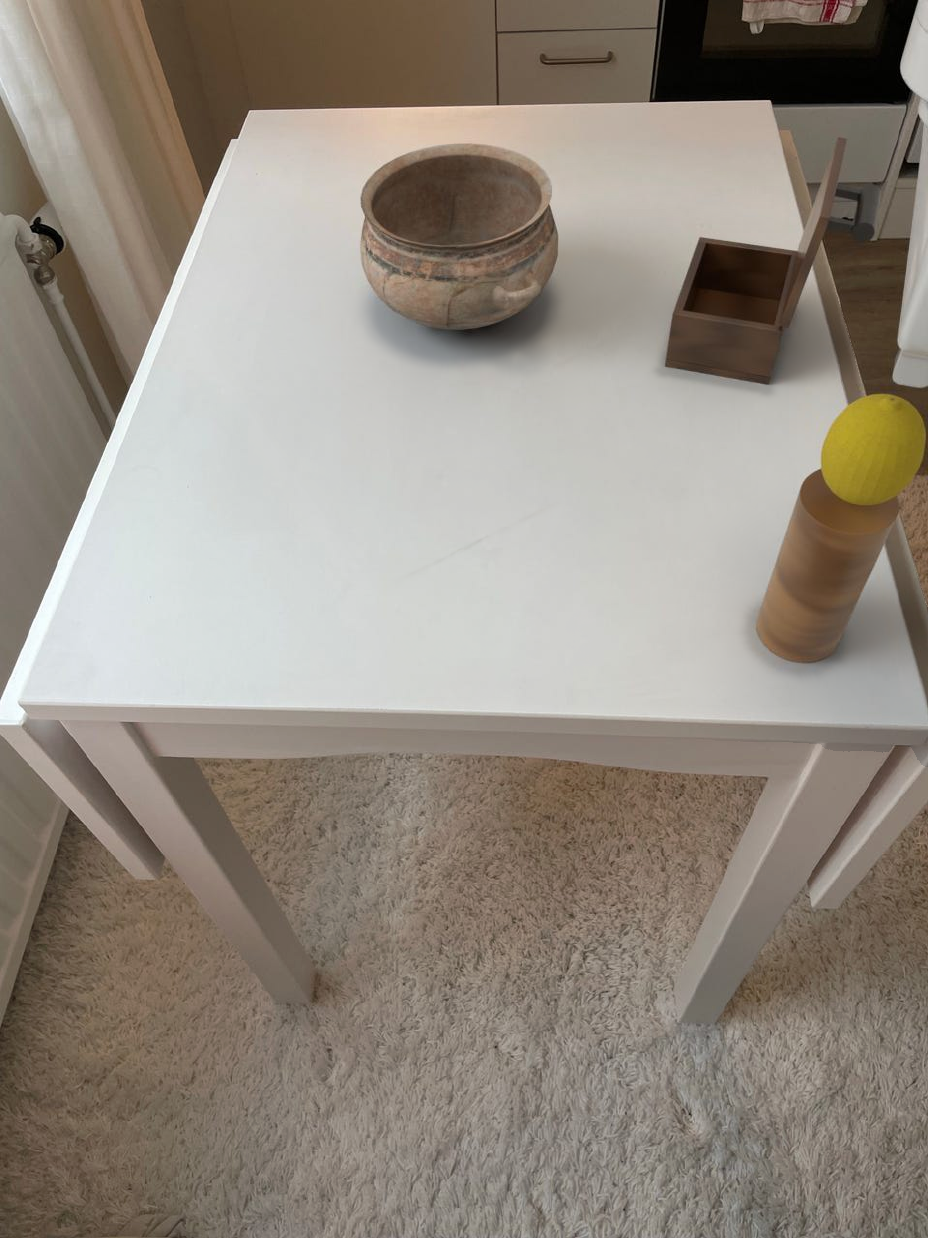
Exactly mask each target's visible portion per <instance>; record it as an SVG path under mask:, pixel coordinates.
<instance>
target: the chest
mask: <svg viewBox="0 0 928 1238" xmlns="http://www.w3.org/2000/svg"><path fill="white" fill-rule="evenodd" d="M797 251H798V250H793V249H786V248H779V247H773V246H772V247H771V246H767V245H766V246H765V245H760V244H759V245H758V244H751V243H745V242H738V241H730V240H723V239H716V238H709V237H702V236H700V237H698V240H697V243H696V246H695V248H694V251H693V252H694V253H693V254H692V258H691V260H690V263H689V266H688V268H687V271H686V275H685V278H684V280H683V284H682V286H681V289H680V291H679V294H678V298H677V300H676V303H675V306H674V309H673V311H672V315H671V323H670V329H669V336H668V341H667V348H666V356H665V362H664V367H668V368H672V369H679V370H685V371H690V372H697V373H701V374H708V375H712V376H719V377H724V378H731V379H735V380H742V381H747V382H753V383H759V384H764V385H769V384H770V380H771V376H772V373H773V369H774V365H775V363H776V357H777V353H778V350H779V346H780V343H781V338H782V335H783V330H784V327H782V326H779V324H780V320H781V316H782V312H783V308H784V304H785V300H786V296H787V292H788V288H789V283H790V279H791V275H792V271H793V267H794V263H795V259H796V255H797Z"/></svg>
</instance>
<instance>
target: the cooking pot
mask: <svg viewBox="0 0 928 1238" xmlns="http://www.w3.org/2000/svg"><path fill="white" fill-rule="evenodd" d="M552 197H553V185H552V182H551V179H550V176H549V175H548V174H547V172H546V170H545V169H544V168H543V167H542V166H541V165H539V164H538V163H537V162H536V161H534V160H533V159H531V158H529V156H526V155H524V154H522V153H520V152H517V151H515V150H511V149H509V148H504V147H501V146H496V145H491V144H483V143H482V144H481V143H449V144H448V143H447V144H438V145H433V146H429V147H423V148H420V149H416V150H412V151H410V152H407V153H405V154H402V155H400V156H398V157H396V158H393V159H392V160H390V161H388V162H387V163H385V164H383V165H382V166H380V167H379V168H378V169H376V170H375V171H374V172H373V173H372V175H370V177H369V178H368V179H367V180H366V181H365V184H364V186H363V187H362V189H361V194H360V199H359V200H360V208H361V209H362V213H363V215H364V220H363V223H362V228H361V234H360V242H359V249H360V252H359V253H360V261H361V266H362V269H363V272H364V274H365V277H366V281H367V282H368V284H369V285H370V287H371V288H372V290H373V291H374V292H375V294H376V295H377V297H378V298H379V299H380V300H381V301H382V302H383V303H384V304H385V305H386V306H387V307H388V308H389V309H390V310H392V311H393V312H395V313H396V314H398V315H399V316H401V317H403V318H405V319H406V320H408V321H411V322H414V323H416V324H419V325H422V326H427V327H430V328H434V329H439V330H440V329H441V330H448V331H449V330H453V331H454V330H458V331H459V330H472V329H478V328H482V327H487V326H491V325H494V324H497V323H500V322H502V321H505V320H506V319H509V318H511V317H512V316H515V315H516V314H518V313H520V312H521V311H522V310H523V309H525V308H527V307H528V306H529V305H530V304H531V303H532V302H533V301H534V300H535V299H536V298H537V297H538V296H540V294H541V293H542V291H543V290H544V289H545V286H546V285H547V283H548V282H549V280H550V278H551V276H552V274H553V272H554V269H555V266H556V263H557V259H558V256H559V233H558V228H557V225H556V221H555V217H554V213H553V210H552V208H551V205H550V202H551V200H552Z"/></svg>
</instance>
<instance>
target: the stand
mask: <svg viewBox="0 0 928 1238" xmlns="http://www.w3.org/2000/svg"><path fill="white" fill-rule="evenodd" d="M791 512H792V513H791V514H790V519H789V521H788V524H787V527H786V530H785V533H784V536H783V539H782V542H781V545H780V548H779V551H778V554H777V558H776V561H775V563H774V566H773V569H772V571H771V576H770V579H769V581H768V584H767V588H766V591H765V593H764V596H763V599H762V602H761V606H760V609H759V612H758V614H757V617H756V623H755V627H756V632H757V635H758V637H759V639H760V641H761V643H762V644H763V645H764V646H765V647H766V648H767V649H768V650H769V651H770V652H772V653H773V654H774V655H776V656H778V657H779V658H782V659H784V660H787V661H790V662H795V663H800V664H801V663H802V664H804V663H815V662H818V661H821V660H824V659H825V658H828V657H829V656H830V655H831V654H833V652H835V650H836V649H837V647H838V645H839V643H840V641H841V638H842V636H843V635H844V632H845V629H846V628H847V626H848V623H849V621H850V619H851V617H852V615H853V612H854V610H855V609H856V607H857V604H858V602H859V599H860V597H861V595H862V593H863V591H864V589H865V586H866V585H867V583H868V580H869V578H870V576H871V574H872V572H873V569H874V567H875V565H876V564H877V561H878V559H879V557H880V555H881V552H882V550H883V548H884V546H885V544H886V541H887V539H888V537H889V535H890V533H891V531H892V528H893V526H894V524H895V522H896V520H897V518H898V516H899V512H900V501H899V498H898V495H897V496H895V497H894V498H892V499H890V500H887V501H885V502H883V503H880V504H875V505H857V504H852V503H849V502H846V501H845V500H843V499H841V498H839V497H838V496H837V495H836V494H834V493H833V492H832V491H831V489H830V488H829V487H828V485H827V484H826V482H825V480H824V477H823V474H822V470H821V468H818V469H817V470H814V471H813V472H811V473H809V475H808V476H806V477H805V478H804V480H803V482H802V483H801V486H800V489H799V491H798V495H797V498H796V501H795V503H794V507H793V509H792V511H791Z"/></svg>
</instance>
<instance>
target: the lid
mask: <svg viewBox="0 0 928 1238" xmlns="http://www.w3.org/2000/svg"><path fill="white" fill-rule="evenodd" d="M847 142H848V139H847V138H845V137H840V136H838V137H837V139H836V141H835V144H834V147H833V149H832V153H831V154H830V158H829V160H828V163H827V166H826V169H825V172H824V175H823V177H822V180H821V182H820V186H819V188H818V191H817V194H816V196H815V200H814V202H813V205H812V208H811V211H810V213H809V216H808V219H807V222H806V223H805V227H804V230H803V232H802V236H801V237H800V242H799V243H798V247H797V250H796V251H797V255H796V259H795V263H794V267H793V271H792V275H791V279H790V283H789V288H788V292H787V296H786V300H785V304H784V308H783V312H782V316H781V320H780V324H779V326H782V327H783V328H786V329H788V328H789V327H790V325H791V322H792V320H793V317H794V314H795V312H796V309H797V307H798V304H799V301H800V298H801V295H802V293H803V290H804V288H805V286H806V282H807V280H808V278H809V275H810V272H811V269H812V266H813V264H814V261H815V259H816V256H817V254H818V251H819V248H820V246H821V243H822V240H823V238H824V236H825V233H826V230H827V229H829V230H830V229H831V230H835V231H838V232H839V231H840V232H843V233H849V234H850V237H851V239H852V241H854V242H855V243H857V244H864V243H868V242H870V241H871V240H872V239H873V238H874V236H875V233H876V227H877V221H878V215H879V209H880V204H881V199H882V198H881V196H882V190H881V188H880V186H878V185H876V184H873V183H870V184H866V185H864V186H863V187H861V188H855V187H850V186H846V185H841V184H839V178H840V174H841V169H842V165H843V161H844V156H845V151H846V147H847ZM835 197H837V198H842V199H846V200H851V201H855V202H856V204H855V209H854V210H855V211H854V214H853V219H852V220H849V219H845V218H841V217H835V216H832V210H833V206H834V201H835Z"/></svg>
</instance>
